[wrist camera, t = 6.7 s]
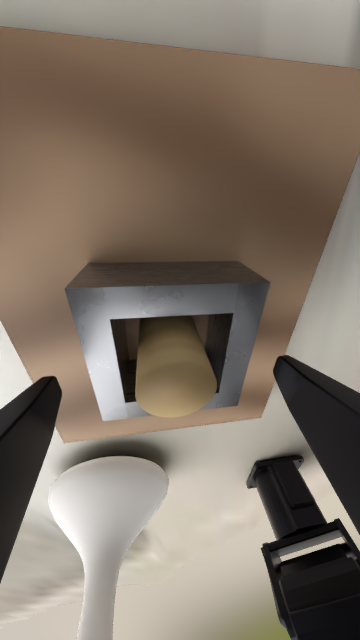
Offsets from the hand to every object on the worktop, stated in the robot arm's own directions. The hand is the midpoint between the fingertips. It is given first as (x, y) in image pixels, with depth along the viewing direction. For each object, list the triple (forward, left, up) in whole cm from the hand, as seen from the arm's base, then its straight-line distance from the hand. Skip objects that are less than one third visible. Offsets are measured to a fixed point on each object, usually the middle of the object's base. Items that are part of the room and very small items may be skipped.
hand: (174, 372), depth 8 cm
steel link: (0, 0, -4) cm, 4 cm away
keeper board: (0, 0, -5) cm, 5 cm away
